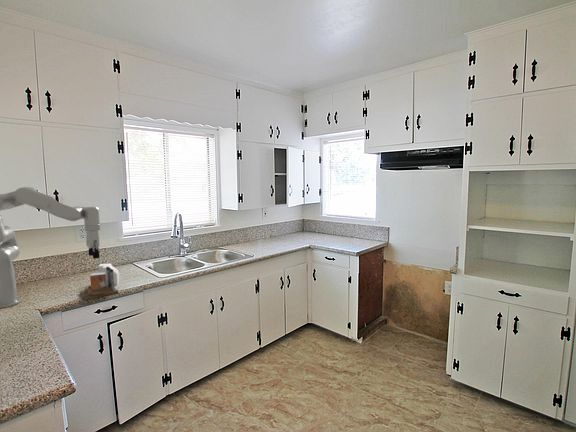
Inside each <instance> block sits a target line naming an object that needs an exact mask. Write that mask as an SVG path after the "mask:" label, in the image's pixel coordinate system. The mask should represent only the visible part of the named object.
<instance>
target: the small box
mask: <svg viewBox="0 0 576 432" xmlns="http://www.w3.org/2000/svg"><path fill="white" fill-rule="evenodd" d="M89 275H90V276H89V279H90V286H91V290H97V289H102V288H106V287H107V281H106V272H102V273H99V272H95V273H90V274H89Z"/></svg>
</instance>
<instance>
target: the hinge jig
mask: <svg viewBox="0 0 576 432" xmlns="http://www.w3.org/2000/svg"><path fill="white" fill-rule="evenodd" d="M106 272H107V287H106V288H102V289H97V290H91V285H88V286H84V290H80V291H79V295H80V296H81V297H82V299H83V300H84V301H89V300H93V299H94V300H95V299H97V298H98V299H99V298H102V297H106V296H107V297H108V296H111V295H115V294H119V290H118V289H117V288H115V285H114V276H113V269H111V268H110V267H106Z"/></svg>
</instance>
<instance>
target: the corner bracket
mask: <svg viewBox="0 0 576 432" xmlns="http://www.w3.org/2000/svg"><path fill="white" fill-rule="evenodd" d="M106 267H110V268H111V269H113V276H114V286H117V285H119V283H120V271H119V270H118V269H117V268H116V267H114V266H113V265H112V263H101V264H99V265H98V273H102V272H106ZM106 281H107V272H106Z"/></svg>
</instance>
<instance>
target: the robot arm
mask: <svg viewBox="0 0 576 432" xmlns="http://www.w3.org/2000/svg"><path fill="white" fill-rule="evenodd" d="M25 205H26V206H30V207H33V208H36V209H38V210H41V211H44V212H46V213H48V214H50V215H52V216H55V217H57V218H60V219H63V220H66V221H69V222H77V221H79V220H83V219H84V232H86V233H85V236H86V237H85V241H86V243H85V244H86V247H87V248H88V256H90V257H91V256H92V258H93V259H99V258H100V249H99V247H100V236H99V232H100V231H101V225H100V223H101V222H100V209H99V207H97V206H86V207H85V206H70V205H67V204H64V203H62V202H60V201H57V200H56V198H54V197H53V196H51V195H49V194H45V193H42V192H39V191H38V190H37V189H36V188H33V187H30V186H28V187H27V186H26V187H25V186H24V187H23V186H22V187H19V188H17V189H16V190H14V191H11V192H7V193H0V212H1V211H5V210H10V209H14V208H17V207H20V206H25ZM19 255H20V247H19V243H18V239H17V235H16V233H15V231H14V229H13V227H10V226H7V225H4V221H3V218H2V216H1V214H0V309H1V308H2V309H3V308H7V307H12V306H15V305H17V304H20V303H21V302H22V298H21V297H18V293H17V283H16V282H17V281H16V273H15V266H14V264H13V261H14V260H16V259H17V258H18V256H19Z"/></svg>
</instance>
